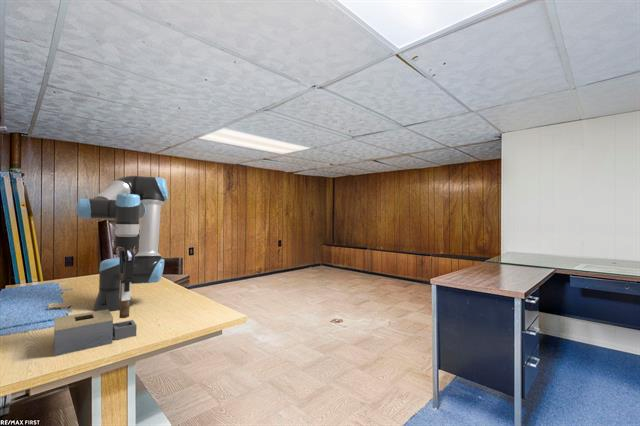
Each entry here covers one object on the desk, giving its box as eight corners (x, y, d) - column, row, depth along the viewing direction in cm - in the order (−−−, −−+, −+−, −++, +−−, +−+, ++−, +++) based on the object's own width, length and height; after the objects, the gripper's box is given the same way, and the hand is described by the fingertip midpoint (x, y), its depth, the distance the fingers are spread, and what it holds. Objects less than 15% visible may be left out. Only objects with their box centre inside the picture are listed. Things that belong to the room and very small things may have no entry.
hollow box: (53, 344, 102) (54, 317, 102) (107, 333, 112) (108, 309, 112) (54, 356, 93) (55, 327, 94) (112, 343, 104) (113, 317, 104)
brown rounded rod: (118, 316, 110) (120, 273, 111) (128, 315, 113) (129, 272, 113) (120, 318, 108) (121, 274, 108) (129, 317, 110) (131, 273, 111)
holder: (111, 334, 111) (112, 323, 111) (132, 330, 115) (132, 319, 115) (114, 340, 106) (115, 329, 106) (136, 335, 110) (136, 324, 110)
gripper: (111, 234, 114) (109, 296, 114) (118, 237, 102) (116, 306, 102) (134, 234, 119) (132, 293, 119) (143, 236, 107) (141, 302, 107)
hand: (124, 298), depth 110 cm, fingers closed on brown rounded rod, 3 cm apart
